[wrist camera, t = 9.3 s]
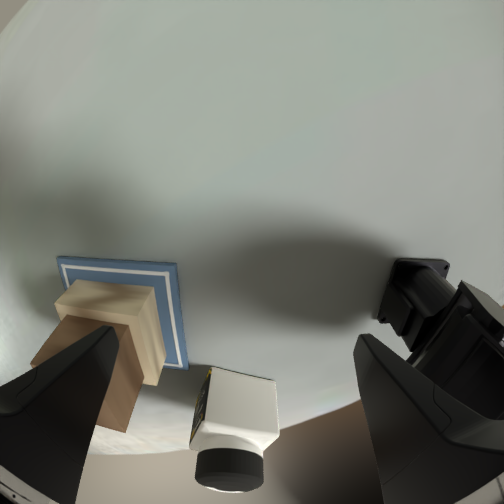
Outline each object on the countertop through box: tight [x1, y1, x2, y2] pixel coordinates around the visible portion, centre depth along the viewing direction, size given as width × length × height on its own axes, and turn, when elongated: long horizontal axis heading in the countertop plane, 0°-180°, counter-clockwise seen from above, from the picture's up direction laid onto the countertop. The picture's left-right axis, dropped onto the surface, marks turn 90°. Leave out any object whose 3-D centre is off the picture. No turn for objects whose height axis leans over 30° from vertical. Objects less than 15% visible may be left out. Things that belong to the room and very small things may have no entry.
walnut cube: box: [30, 314, 144, 433], centre depth 16 cm, size 6×6×6 cm
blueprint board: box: [56, 256, 189, 371], centre depth 23 cm, size 12×12×1 cm
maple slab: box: [54, 279, 167, 386], centre depth 21 cm, size 8×8×4 cm
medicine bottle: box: [189, 367, 279, 493], centre depth 22 cm, size 7×7×12 cm
